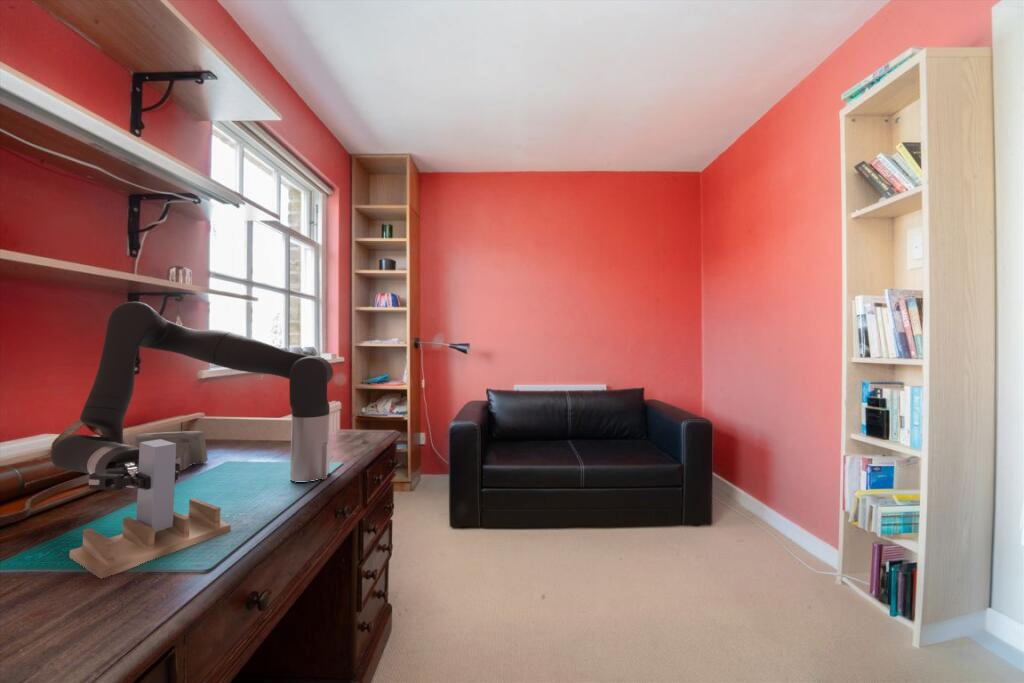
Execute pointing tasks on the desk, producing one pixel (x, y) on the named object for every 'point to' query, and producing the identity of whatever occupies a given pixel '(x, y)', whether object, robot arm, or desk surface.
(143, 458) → the grey tall block
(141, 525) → the rack
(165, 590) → the desk surface
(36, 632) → the desk surface
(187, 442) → the grey basket
